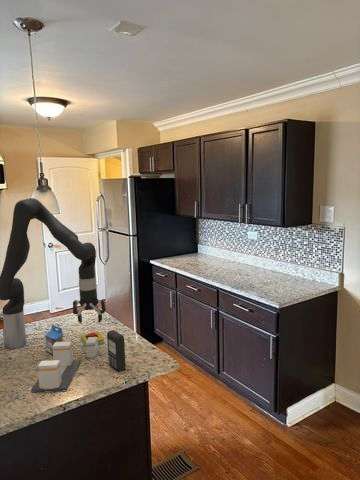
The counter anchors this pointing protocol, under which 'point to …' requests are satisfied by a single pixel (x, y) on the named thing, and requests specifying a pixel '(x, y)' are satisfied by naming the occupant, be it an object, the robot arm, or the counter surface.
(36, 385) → the rail plate
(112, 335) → the black card payment terminal
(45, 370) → the mounted modules
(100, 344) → the emergency button
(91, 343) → the block
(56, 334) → the label tape cartridge
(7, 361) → the counter surface
